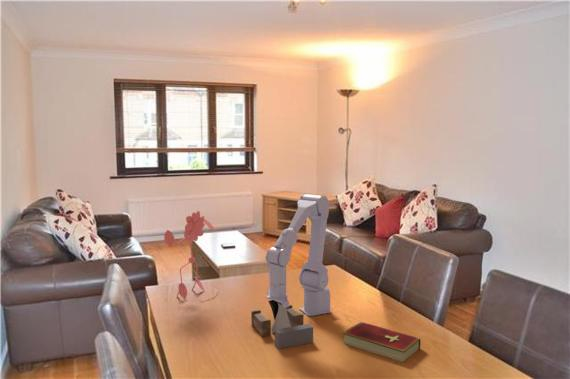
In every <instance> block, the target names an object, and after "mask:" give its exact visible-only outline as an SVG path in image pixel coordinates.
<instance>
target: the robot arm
mask: <svg viewBox="0 0 570 379" xmlns="http://www.w3.org/2000/svg"><path fill="white" fill-rule="evenodd" d="M330 203H331V202H330V200H329V199H328V197H327V196H326V195H319V194H308V193H302V194H301V195H300V197H299V199H298V201H297V210H296V212H295V214H294V215H293V217H292V220H291V222H290V224H289V226H288V228H285V229H283V231H282V232H281V234H280V235H279V237H278V239H277V241H276V242H275V244H274V246H272V247H270V248H269V249H267V251H266V255H265V261H266V263H267V267H268V269H269V271H268V274H269V276H268V277H269V280H268V281H269V286H268V287H269V288H268V289H267V295H266V297H265V298H266V299H267V300H268V303H269V306H270V308H271V311H272V315H273V319H274V320H273V321H275V318H276V316H277V313H278V308H279V305H278V302H279V303H280V304H282V307H283V308H287V307H289V305H290V301H289V299H288V295H287V265H288V264H289V262H291V254H292V249H293V247H294V246H295V244H296V242H297V241H298V238H299V236H298V232H299V231H300V229H301V228H302V226H303V225H304V224H305V223H306V221H307V219H308V218H310V219H311V221H312V222H311V229H310V230H311V231H310V238H309V247H308V257H307V262H305V263H304V264H303V265H302V266H301V271H300V273H299V277H298V279H299V283H300V284H301V287H302V289H303V307H299V310H300V311H302V312H303V314H305V315H306V316H308V317H312V316H318V315H323V314H324V315H325V314H330V313H332V310H331V291H330V289H329V288H328V287H327V286H328V284H329V274H328V271H329V269H328V268H327V267H326V265H324V263H323V258H324V249H325V242H326V231H327V224H328V223H327V222H328V218H329V212H330Z"/></svg>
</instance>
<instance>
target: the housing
mask: <svg viewBox="0 0 570 379" xmlns="http://www.w3.org/2000/svg"><path fill="white" fill-rule="evenodd" d="M286 310H287V315H288V318H289V321H290V324H291V327H294V326H299V325H305V324H304V322H305V321H304V319H305V318H304V314H305V313H299V312H298V311H296V310H295V308H293V305H292V304H289V307H287V308H286ZM250 312H251V318H250V319H251V327H254V329H255V330H257V332H258V333H259V334H260V336H261V337H267V336H271V334H272V329H271V328H272V323H271V322H272V321H271V320H272V319H270V318H269V319H268V318H266V317H265V315H263V314H262V309H257V310H251V311H250Z"/></svg>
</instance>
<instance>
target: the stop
mask: <svg viewBox="0 0 570 379" xmlns="http://www.w3.org/2000/svg"><path fill="white" fill-rule="evenodd" d="M312 343H314V327H313V325H311V324H310V323H305V324H304V325H299V326H294V327H292V326H291V327H288V328H282V329H277V330H275V333H274V346H275V347H276V348H277V349H278V350H280V349H284V348H291V347H296V346H301V345H306V344H312Z"/></svg>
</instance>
